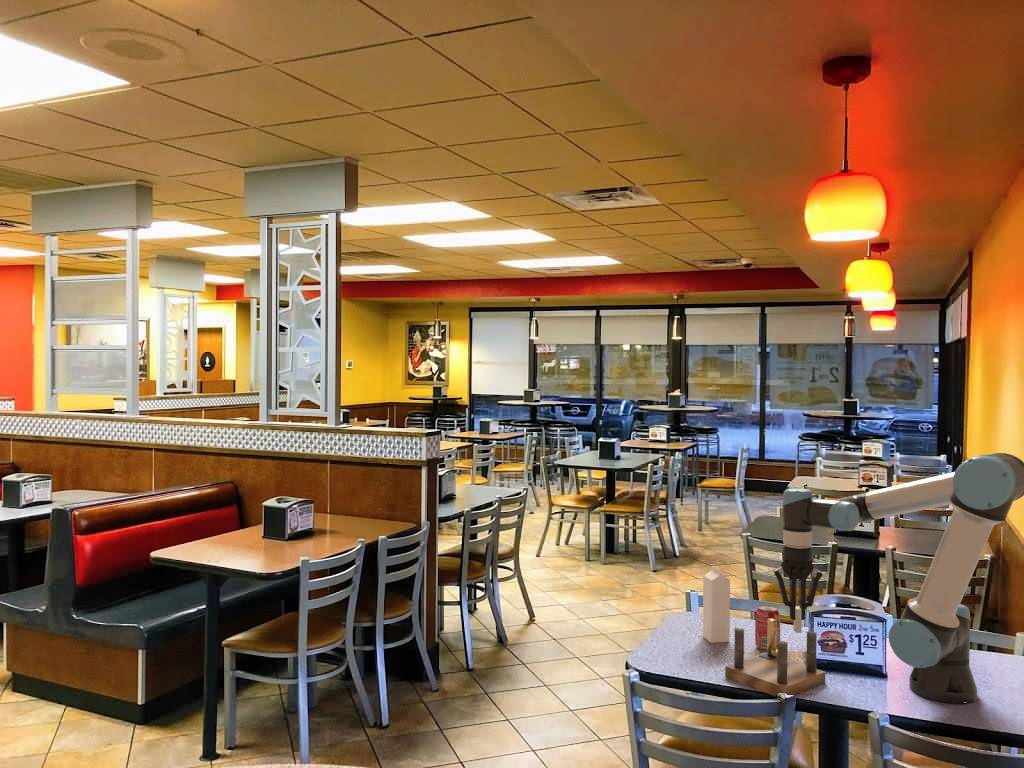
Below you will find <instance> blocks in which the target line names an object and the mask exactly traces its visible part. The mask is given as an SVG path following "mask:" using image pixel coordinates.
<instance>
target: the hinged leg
mask: <svg viewBox="0 0 1024 768" xmlns="http://www.w3.org/2000/svg"><path fill="white" fill-rule="evenodd" d="M776 642H777V620H776V619H772V618H769V619H768V627H767V651H766V653H767V654H769V655H773V656H775V657H777V649H776Z"/></svg>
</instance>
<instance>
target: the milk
mask: <svg viewBox="0 0 1024 768" xmlns="http://www.w3.org/2000/svg"><path fill="white" fill-rule="evenodd" d="M702 577H703V579H702V580H703V582H702V585H703V586H702V587H703V588H702V589H703V591H702V592H703V593H702V595H703V596H702V598H703V599H702V601H703V602H702V603H703V604H702V637H703V638H704V639H705V640H706V641H708V642H709V643H711V644H714V643H715V644H717V643H729V642H730V633H731V631H730V629H731V627H730V625H731V623H730V619H731V613H730V612H731V579H730V578H728V577H726V576H724V575H723V574H722V569H721V568H719V567H718V566H715V565H714V564H713V565H711V570H710V571H709V572H707V573H704V574H703V575H702Z"/></svg>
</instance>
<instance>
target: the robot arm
mask: <svg viewBox="0 0 1024 768" xmlns="http://www.w3.org/2000/svg"><path fill="white" fill-rule="evenodd" d="M1022 497H1024V461H1023V459H1020V458H1019V457H1017V456H1015V455H1013V454H1010V453H1005V452H996V453H991V454H980V455H979V454H978V455H975V456H972V457H970V458H968V459H966V460H965V461H963V462H962V463H961V464H959V465H958V467H957V468H956V470H955V471H953V472H949V473H944V474H940V475H935V476H931V477H926V478H923V479H919V480H914V481H910V482H905V483H901V484H898V485H893V486H889V487H885V488H880V489H876V490H871V491H868V492H863V493H858V494H854V495H849V496H845V497H841V498H834V499H824V498H823V499H822V498H815V497H814V496H813V492H812V490H810V489H807V488H799V487H797V488H794V487H792V488H787V489H785V490H784V491H783V498H782V517H783V518H782V521H783V523H782V524H783V525H782V529H783V530H782V542H783V546H782V562H781V564H780V566H779V567H778V568H777V569H776V568H773V570H772V572H773V574H774V576H775V577H776V581H777V584H778V589H779V593H780V597H781V601H782V604H784V606H786V607H789V618H790V619H791V620H792V621H793V631H794V633H796V634H802V621H805V620H806V609H807V608H809V607H813V604H814V601H815V597H816V593H817V589H818V584H819V582H820V580H821V578H822V577H823V576H824V575H823V572H821V570H819V569H816V568H815V566H814V564H813V547H811V546H812V545H813V527H817V528H824V529H830V530H837V531H840V532H842V531H845V532H846V531H847V532H850V531H851V532H852V531H854V530H855V529H856V527H857V526H858V525H859V524H862V523H866V522H873V521H876V520H879V519H883V518H885V519H886V518H890V517H895V516H900V515H904V514H909V513H915V512H919V511H923V510H924V511H926V510H929V509H934V508H939V507H944V506H950V505H951V507H952V509H953V511H952V512H951V513H952V514H951V515H950V519H949V521H948V523H947V525H946V527H945V529H944V532H943V534H942V537H941V540H940V542H939V545H938V547H937V549H936V551H935V554H934V556H933V558H932V561H931V564H930V566H929V569H928V571H927V573H926V576H925V577H924V580H923V582H922V585H921V588H920V589H919V591H918V594H917V596H916V597H913V598H910V599H908V600H907V602H906V605H905V606H904V607H905V608H904V610H903V612H902V614H901V616H900V619H898V620H896V621H895V622H894V623H893V624H892V625H891V626H890V629H889V631H888V643H889V646H890V647H891V649H892V652H893V653H894V654H895V656H896V657H897V658H898V659H899V660H900V661H901V662H903V663H904V664H906V665H908V666H910V667H913V668H912V671H911V673H910V676H909V681H908V683H909V689H910V690H911V691H912V692H913V693H915V694H917V695H919V696H921V697H924V698H926V699H929V700H932V701H938V702H941V701H942V702H941V703H947V702H948V704H957V703H964V702H971V703H973V702H972V701H974V700H976V699H977V700H978V688H977V684H976V681H975V679H974V676H973V671H972V670H971V666H970V649H971V647H970V646H971V645H970V643H971V641H970V640H971V635H970V634H971V621H972V619H971V614H970V609H969V607H968V606H966V605H964V604H961V602H962V600H963V598H964V596H965V593H966V590H967V588H968V586H969V584H970V581H971V579H972V577H973V574H974V572H975V570H976V568H977V565H978V563H979V561H980V558H981V557H982V553H983V551H984V549H985V547H986V544H987V543H988V540H989V537H990V535H991V533H992V531H993V529H994V527H995V526H996V525H999V524H1002V523H1004V522H1005V521H1006V518H1007V516H1008V514H1009V511H1010V509H1011V507H1012V505H1013V503H1014V502H1015V501H1017V500H1019V499H1021V498H1022ZM783 572H784V573H785V574H786V575H787V577H788V581H789V582H788V583H789V584H788V586H789V588H788V590H789V595H787V594H788V593H787V589H786V585H785V581H784V578H783V576H784V573H783ZM809 576H812V577H811V581H810V584H809V587H808V591H806V590H807V589H806V588H807V587H806V586H807V579H808V577H809ZM797 580H798V606H797ZM806 593H807V594H806ZM806 595H807V596H806ZM788 596H789V597H788ZM977 700H976V701H977ZM974 702H975V701H974ZM964 704H965V703H964Z"/></svg>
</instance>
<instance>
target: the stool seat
mask: <svg viewBox="0 0 1024 768" xmlns="http://www.w3.org/2000/svg"><path fill="white" fill-rule="evenodd" d="M817 634H818V633H817V632H815V631H806V656H805V657H806V658H805V659H806V664H802V663H799V662H797V661H794V660H790V659H788V652H789V651H788V646H789V644H788V643H789V642H787V641H784V640H780V641H778V649H777V657H775V656H773V655H769V654H767V651H766V652H763V653H760V654H757V655H754V656H751V657H748V658H745V629H744V628H742V627H735V628H734V644H733V645H734V648H733V649H734V652H733V653H734V654H733V655H734V662H733V663H731V664H727V665H725V666H724V667H725V668H724V670H725V671H724V674H725V675H724V676H725V677H727V678H726V679H728V678H730V679H729V680H731V679H732V680H731V681H733V680H735V681H734V682H736V681H737V682H736V683H739V684H741V683H742V685H745V686H747V687H750V688H752V689H755V690H757V689H758V691H760V690H761V691H760V692H763V691H764V692H763V693H766V694H769V695H771V696H774V697H776V695H777V694H778V693H786V694H787V695H795V696H798V695H801V694H802V693H806V692H808V691H810V690H812V689H814V688H817V687H820V686H822V685H824V684H826V671H824V670H821V669H817ZM725 677H724V678H725ZM795 696H794V697H795Z"/></svg>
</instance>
